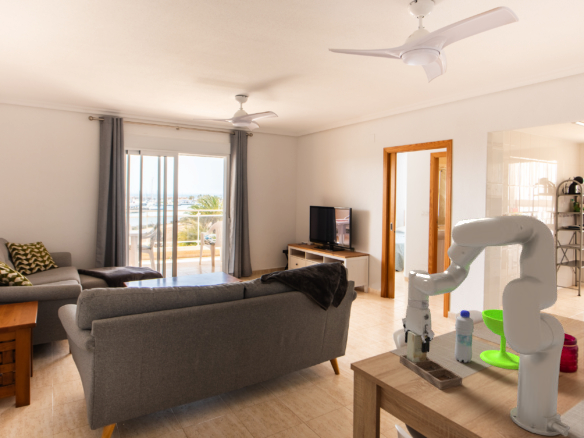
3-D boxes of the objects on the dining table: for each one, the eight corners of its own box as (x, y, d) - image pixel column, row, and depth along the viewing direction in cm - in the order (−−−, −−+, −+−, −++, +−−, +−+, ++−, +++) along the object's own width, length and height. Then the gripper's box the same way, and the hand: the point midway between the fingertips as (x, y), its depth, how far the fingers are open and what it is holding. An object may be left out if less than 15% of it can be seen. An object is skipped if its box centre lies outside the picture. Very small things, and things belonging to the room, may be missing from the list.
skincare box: (413, 367, 141) (414, 335, 141) (406, 362, 146) (406, 331, 145) (427, 364, 144) (428, 333, 143) (419, 360, 148) (420, 329, 147)
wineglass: (518, 354, 155) (520, 311, 154) (532, 371, 140) (535, 324, 138) (475, 349, 159) (477, 307, 158) (485, 366, 144) (487, 320, 142)
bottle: (468, 357, 152) (470, 308, 151) (475, 364, 145) (477, 313, 144) (451, 356, 152) (453, 307, 151) (457, 363, 146) (459, 312, 145)
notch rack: (462, 384, 129) (462, 377, 129) (440, 389, 126) (440, 382, 126) (419, 358, 150) (419, 352, 150) (399, 361, 147) (399, 355, 147)
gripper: (442, 308, 136) (440, 354, 138) (411, 296, 153) (410, 337, 154) (425, 310, 134) (423, 357, 135) (396, 298, 150) (394, 340, 151)
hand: (416, 347), depth 144 cm, fingers open, 9 cm apart
